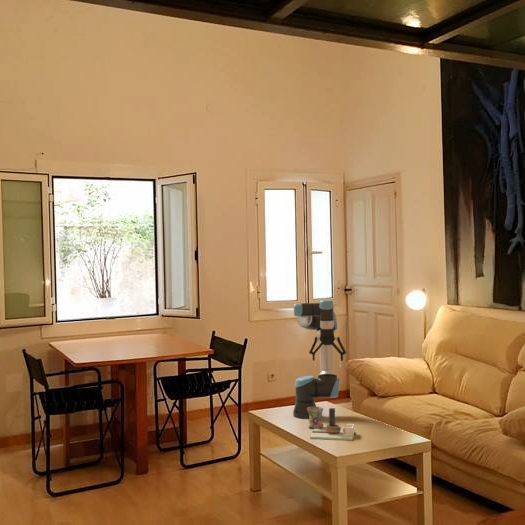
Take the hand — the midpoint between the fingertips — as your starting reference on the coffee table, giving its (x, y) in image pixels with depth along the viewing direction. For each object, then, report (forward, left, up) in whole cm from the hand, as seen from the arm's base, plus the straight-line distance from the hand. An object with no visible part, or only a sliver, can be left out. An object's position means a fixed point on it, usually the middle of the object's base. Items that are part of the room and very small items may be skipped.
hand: (328, 366), depth 341 cm
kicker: (+10, +3, -33) cm, 34 cm away
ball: (+10, +10, -32) cm, 35 cm away
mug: (-5, -9, -35) cm, 36 cm away
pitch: (+11, +3, -35) cm, 37 cm away
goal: (+10, +12, -35) cm, 38 cm away
